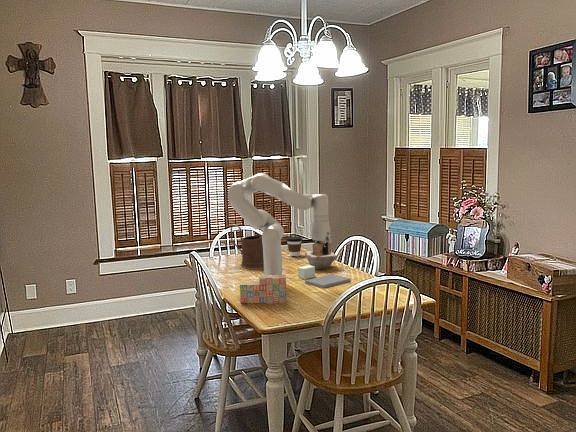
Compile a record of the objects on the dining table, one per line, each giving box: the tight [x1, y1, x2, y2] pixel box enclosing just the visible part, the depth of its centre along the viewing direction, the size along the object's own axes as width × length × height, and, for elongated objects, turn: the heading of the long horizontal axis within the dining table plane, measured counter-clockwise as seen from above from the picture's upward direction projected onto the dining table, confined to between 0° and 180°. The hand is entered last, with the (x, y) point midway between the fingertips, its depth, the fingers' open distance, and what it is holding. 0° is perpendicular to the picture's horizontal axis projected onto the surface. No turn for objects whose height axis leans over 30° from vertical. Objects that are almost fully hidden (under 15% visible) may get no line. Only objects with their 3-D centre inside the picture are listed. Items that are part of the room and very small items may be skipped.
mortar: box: [304, 250, 338, 271], centre depth 312 cm, size 17×17×9 cm
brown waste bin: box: [230, 224, 264, 269], centre depth 323 cm, size 18×24×25 cm
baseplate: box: [304, 273, 352, 289], centre depth 279 cm, size 20×14×2 cm
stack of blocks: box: [239, 274, 287, 304], centre depth 246 cm, size 21×6×12 cm, turn 89°
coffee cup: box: [285, 236, 303, 257], centre depth 349 cm, size 11×11×12 cm
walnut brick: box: [312, 242, 332, 257], centre depth 268 cm, size 8×5×6 cm, turn 126°
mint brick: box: [297, 264, 316, 280], centre depth 290 cm, size 8×5×6 cm, turn 129°
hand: (321, 253), depth 268 cm, fingers closed on walnut brick, 5 cm apart
